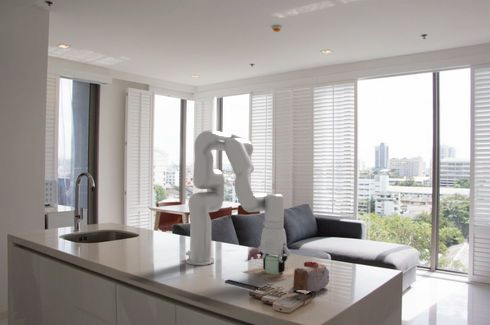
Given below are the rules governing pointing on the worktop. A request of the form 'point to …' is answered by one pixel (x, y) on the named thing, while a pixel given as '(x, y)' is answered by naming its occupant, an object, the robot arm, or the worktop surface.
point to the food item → (311, 277)
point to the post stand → (278, 277)
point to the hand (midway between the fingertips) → (273, 270)
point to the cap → (272, 264)
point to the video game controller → (253, 254)
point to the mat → (241, 285)
